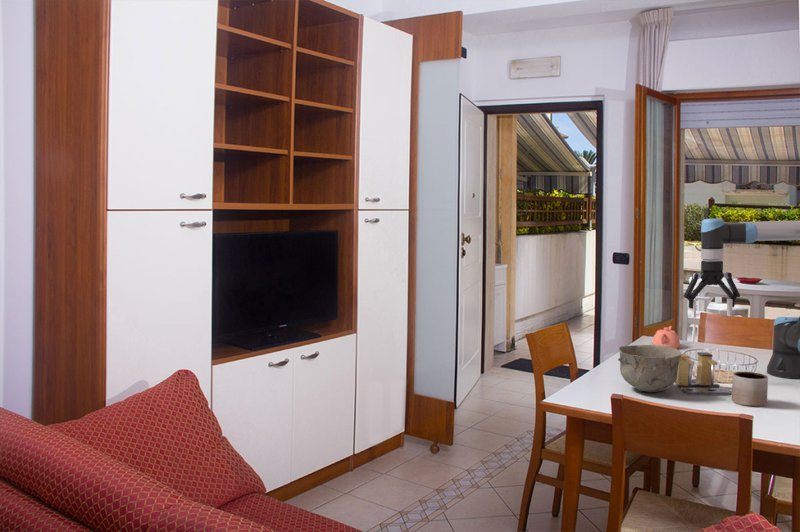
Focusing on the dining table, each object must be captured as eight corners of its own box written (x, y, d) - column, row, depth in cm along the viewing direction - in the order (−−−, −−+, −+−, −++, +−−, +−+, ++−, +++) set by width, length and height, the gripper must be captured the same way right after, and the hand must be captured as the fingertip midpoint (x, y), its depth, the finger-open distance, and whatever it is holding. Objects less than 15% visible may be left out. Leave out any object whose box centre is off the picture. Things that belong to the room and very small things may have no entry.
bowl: (649, 402, 243) (651, 358, 241) (603, 387, 262) (604, 346, 261) (694, 394, 253) (696, 352, 252) (647, 380, 272) (648, 341, 271)
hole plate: (726, 390, 258) (726, 387, 258) (733, 395, 252) (733, 392, 252) (681, 390, 259) (681, 387, 259) (688, 394, 253) (688, 391, 253)
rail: (717, 386, 264) (717, 383, 264) (719, 388, 262) (719, 385, 262) (676, 386, 264) (676, 383, 264) (678, 387, 262) (678, 384, 262)
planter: (724, 398, 248) (726, 371, 247) (755, 398, 249) (756, 371, 248) (742, 407, 237) (743, 379, 236) (773, 407, 238) (775, 378, 237)
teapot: (648, 349, 332) (648, 328, 331) (657, 342, 347) (658, 323, 346) (675, 352, 326) (676, 331, 325) (683, 345, 341) (684, 325, 340)
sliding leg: (705, 381, 265) (707, 352, 264) (719, 390, 253) (721, 359, 252) (695, 381, 265) (696, 352, 264) (708, 390, 253) (710, 359, 252)
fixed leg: (683, 382, 266) (684, 353, 265) (696, 390, 254) (697, 360, 253) (674, 382, 266) (675, 353, 265) (686, 390, 254) (687, 360, 253)
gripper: (740, 258, 271) (739, 314, 272) (674, 260, 270) (674, 315, 272) (750, 260, 263) (749, 317, 265) (682, 261, 263) (682, 319, 265)
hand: (711, 316), depth 269 cm, fingers open, 13 cm apart
